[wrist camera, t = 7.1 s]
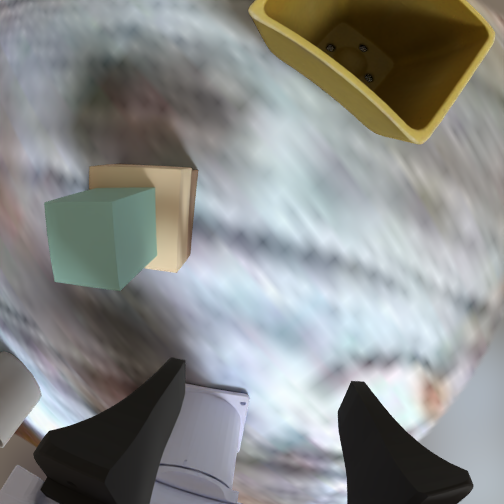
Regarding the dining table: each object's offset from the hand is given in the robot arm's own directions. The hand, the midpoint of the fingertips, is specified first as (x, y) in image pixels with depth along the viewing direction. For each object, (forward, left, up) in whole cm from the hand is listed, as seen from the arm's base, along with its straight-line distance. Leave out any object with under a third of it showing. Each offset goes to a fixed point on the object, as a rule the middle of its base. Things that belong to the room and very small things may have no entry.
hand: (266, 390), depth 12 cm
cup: (-19, +30, -11) cm, 37 cm away
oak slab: (+5, +9, -9) cm, 13 cm away
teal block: (+5, +9, -7) cm, 12 cm away
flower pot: (+17, -3, -11) cm, 20 cm away
